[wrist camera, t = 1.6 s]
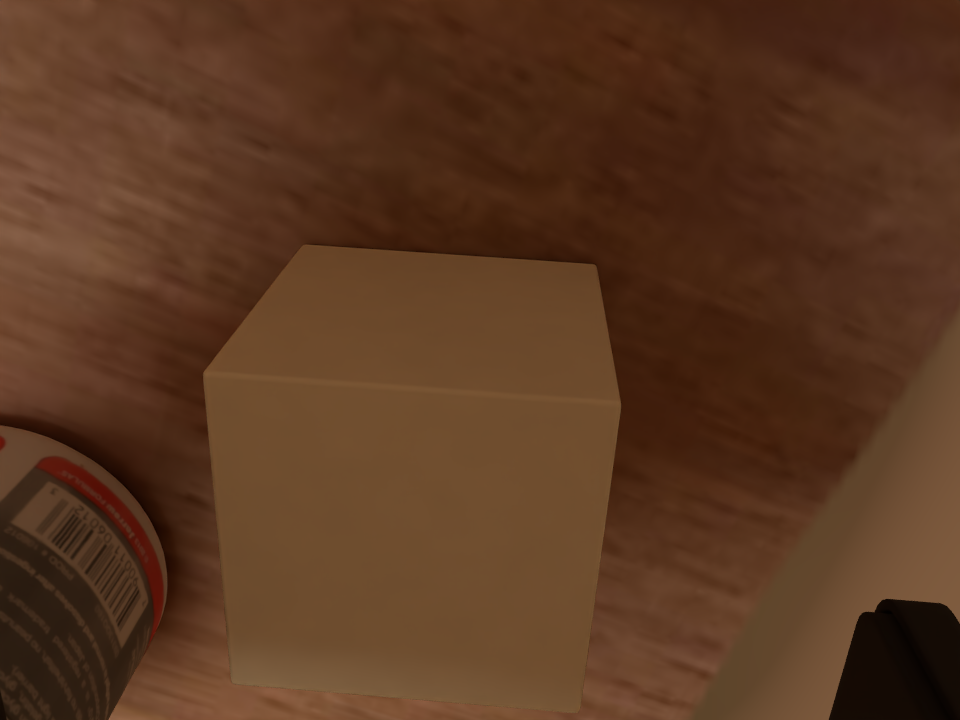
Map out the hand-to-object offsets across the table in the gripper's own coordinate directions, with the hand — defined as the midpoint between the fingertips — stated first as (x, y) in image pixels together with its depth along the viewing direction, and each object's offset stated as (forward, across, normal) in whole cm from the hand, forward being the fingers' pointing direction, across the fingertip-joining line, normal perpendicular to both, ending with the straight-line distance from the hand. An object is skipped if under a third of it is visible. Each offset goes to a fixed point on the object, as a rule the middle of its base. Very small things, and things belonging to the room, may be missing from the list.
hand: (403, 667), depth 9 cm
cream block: (+6, 0, 0) cm, 6 cm away
